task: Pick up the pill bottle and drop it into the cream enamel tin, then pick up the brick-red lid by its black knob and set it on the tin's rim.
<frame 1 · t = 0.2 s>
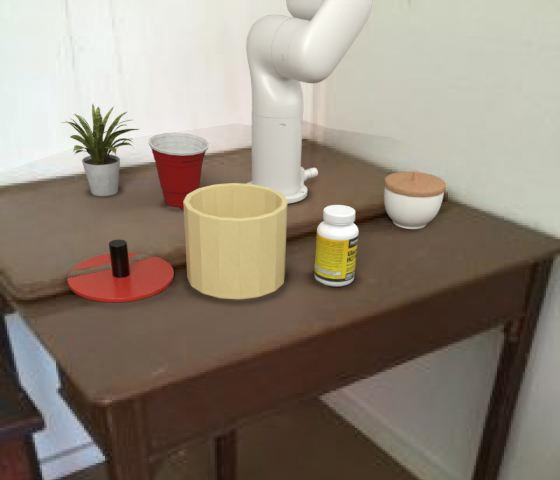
tin: (236, 279, 107), on the table
pill bottle: (334, 280, 108), on the table
lid: (121, 277, 105), point 1 cm above the table
plastic cup: (182, 205, 132), on the table
house plant: (102, 194, 136), on the table
trinket box: (409, 223, 128), on the table
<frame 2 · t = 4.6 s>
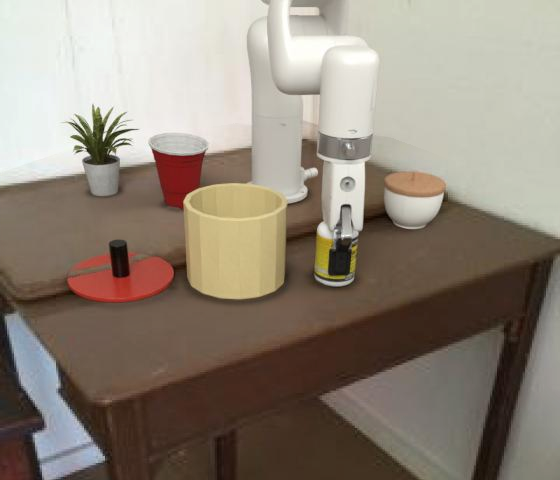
hand: (335, 263, 106), 3 cm above the table, tool pointing down, fingers closed on pill bottle, 6 cm apart
pill bottle: (334, 280, 108), on the table, touching gripper
everything else where it was.
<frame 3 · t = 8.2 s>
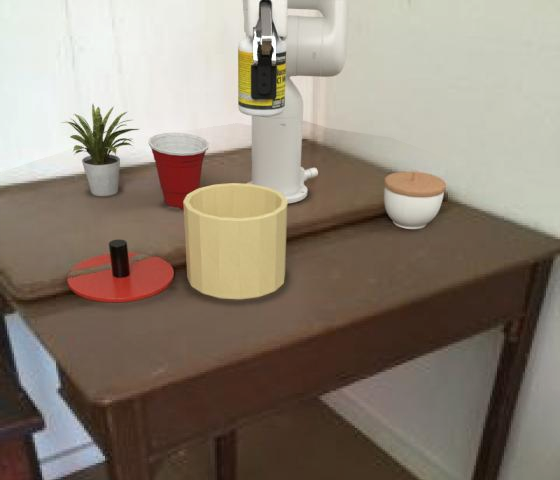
hand: (261, 91, 92), 27 cm above the table, tool pointing down, fingers closed on pill bottle, 6 cm apart
pill bottle: (261, 113, 93), point 25 cm above the table, touching gripper
everything else where it was.
when the fingers open (13 cm above the table, at t = 12.0 s): pill bottle drops 10 cm, resting on tin.
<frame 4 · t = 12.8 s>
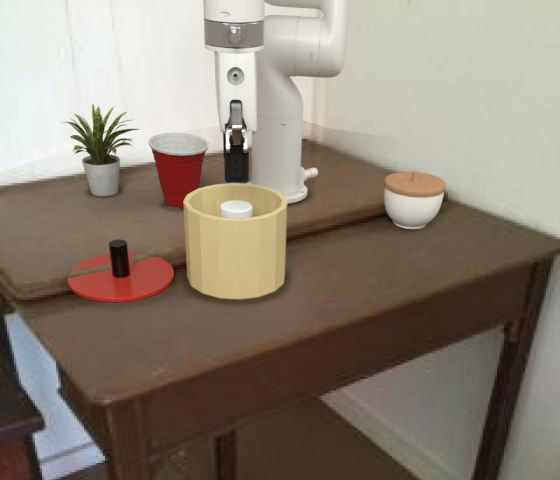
hand: (235, 169, 98), 17 cm above the table, tool pointing down, fingers open, 9 cm apart
pill bottle: (236, 276, 107), resting on tin
everything else where it was.
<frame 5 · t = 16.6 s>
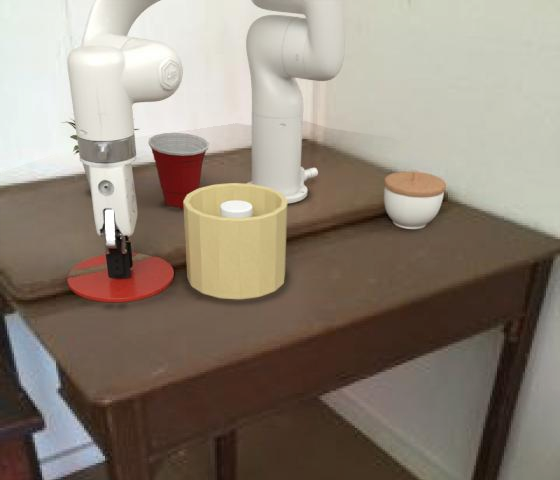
hand: (120, 271, 104), 2 cm above the table, tool pointing down, fingers closed on lid, 2 cm apart
lid: (121, 277, 105), point 1 cm above the table, touching gripper
everything else where it was.
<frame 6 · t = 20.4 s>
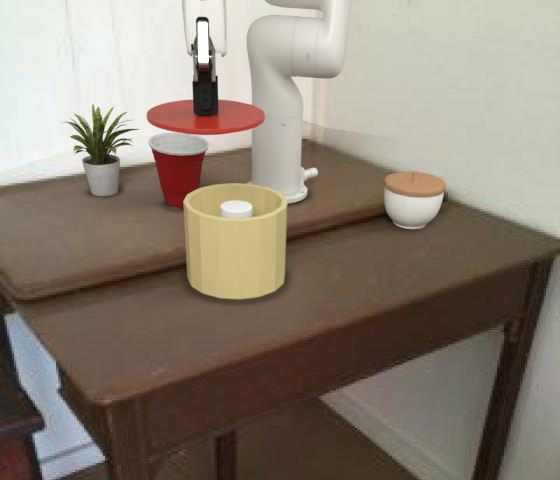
hand: (206, 109, 93), 25 cm above the table, tool pointing down, fingers closed on lid, 2 cm apart
lid: (206, 117, 93), point 24 cm above the table, touching gripper
everything else where it was.
when the fingers open (14 cm above the table, at t = 24.2 s): lid stays where it is, resting on tin.
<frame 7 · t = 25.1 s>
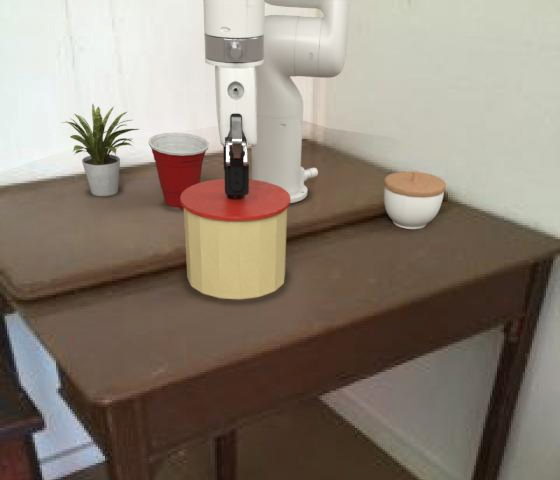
hand: (235, 181, 98), 15 cm above the table, tool pointing down, fingers open, 9 cm apart
lid: (235, 200, 100), point 12 cm above the table, touching tin
everything else where it was.
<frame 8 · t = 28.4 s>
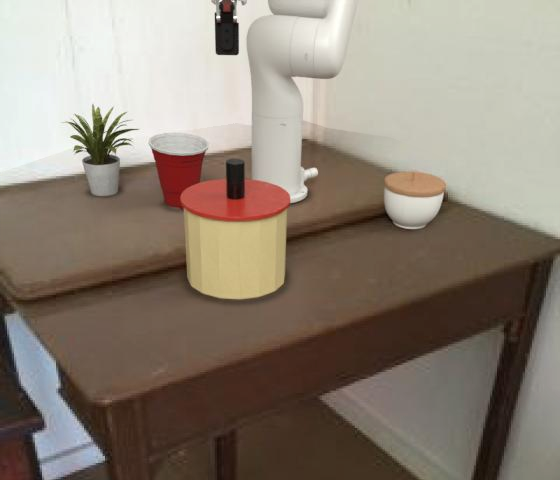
hand: (226, 48, 101), 30 cm above the table, tool pointing down, fingers open, 9 cm apart
nothing on the table moved.
at the end: pill bottle inside the target area in the tin (0.4 cm from its centre), point 0.3 cm above the tin's base; lid 0.0 cm off-centre on the tin, point 12.5 cm above the tin's base; lid tilted 0° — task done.
